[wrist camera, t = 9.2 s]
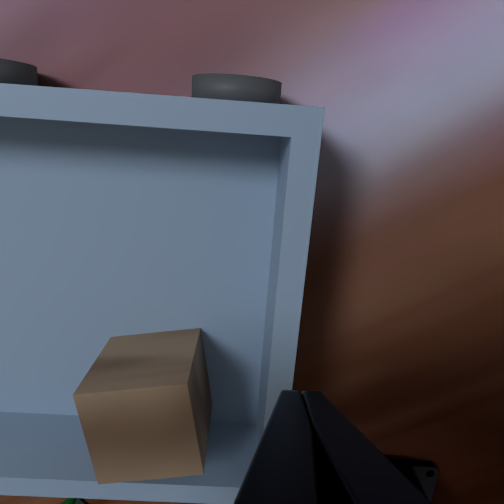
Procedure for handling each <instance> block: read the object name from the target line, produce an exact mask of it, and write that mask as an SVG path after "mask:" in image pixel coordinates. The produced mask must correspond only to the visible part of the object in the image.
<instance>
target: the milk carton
mask: <svg viewBox="0 0 504 504" xmlns="http://www.w3.org/2000/svg"><path fill="white" fill-rule="evenodd" d="M61 504H85V503H84V502H83V501H81V500H80V499H79V498H68V499H67V500H66V501H64V502H63V503H61Z"/></svg>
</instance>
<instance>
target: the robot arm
mask: <svg viewBox="0 0 504 504" xmlns="http://www.w3.org/2000/svg"><path fill="white" fill-rule="evenodd" d="M429 470H430V471H429ZM437 477H438V470H437V468H436V466H435V465H434V463H432V462H425V461H404V460H388V459H387V458H386V457H385V456H384V455H383V454H382V453H381V452H380V451H379V450H378V449H377V448H376V447H375V446H374V445H373V444H372V443H371V442H370V441H369V440H368V439H367V438H366V437H365V436H364V435H363V434H362V433H361V432H360V431H359V430H358V429H357V428H356V427H355V426H354V425H353V424H352V423H351V422H350V421H349V420H348V419H347V418H346V417H345V416H344V415H343V414H342V413H341V412H340V411H339V410H338V409H337V408H336V407H335V406H334V405H333V404H332V403H331V402H330V401H329V400H328V399H327V398H326V397H325V396H324V395H323V394H322V393H321V392H318V391H302V392H300V391H298V390H282V391H281V392H280V394H279V397H278V399H277V402H276V404H275V406H274V409H273V411H272V413H271V416H270V418H269V420H268V423H267V425H266V428H265V430H264V432H263V435H262V437H261V439H260V442H259V444H258V446H257V449H256V451H255V454H254V456H253V458H252V461H251V463H250V465H249V468H248V470H247V472H246V475H245V477H244V480H243V482H242V484H241V487H240V489H239V491H238V494H237V496H236V498H235V501H234V504H432V503H431V500H432V496H433V492H434V488H435V485H436V481H437Z"/></svg>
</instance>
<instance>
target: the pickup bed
mask: <svg viewBox="0 0 504 504" xmlns="http://www.w3.org/2000/svg"><path fill="white" fill-rule="evenodd" d="M281 84H282V83H281V82H279V81H276V80H272V79H267V78H261V77H254V76H245V75H234V74H197V75H193V76H192V97H180V96H166V95H153V94H140V93H126V92H113V91H100V90H86V89H73V88H59V87H46V86H38V77H37V67H36V66H33V65H30V64H26V63H22V62H17V61H12V60H6V59H0V495H15V496H39V497H63V498H86V499H110V500H134V501H158V502H181V503H205V504H234V501H235V498H236V496H237V494H238V491H239V489H240V487H241V484H242V482H243V480H244V477H245V475H246V472H247V470H248V468H249V465H250V463H251V461H252V458H253V456H254V454H255V451H256V449H257V446H258V444H259V442H260V439H261V437H262V435H263V432H264V430H265V428H266V425H267V423H268V420H269V418H270V416H271V413H272V411H273V409H274V406H275V404H276V402H277V399H278V397H279V394H280V392H281V391H282V390H292V386H293V377H294V369H295V360H296V351H297V343H298V334H299V326H300V317H301V308H302V300H303V291H304V283H305V274H306V266H307V257H308V248H309V240H310V231H311V223H312V214H313V205H314V197H315V188H316V180H317V171H318V163H319V154H320V145H321V137H322V128H323V120H324V111H325V107H314V106H300V105H287V104H280V96H281ZM194 328H200V329H201V335H202V341H203V347H204V353H205V360H206V366H207V372H208V378H209V384H210V391H211V397H212V403H213V404H212V412H211V420H210V428H209V436H208V444H207V452H206V460H205V468H204V475H195V476H184V477H173V478H163V479H152V480H141V481H130V482H120V483H109V484H98V482H97V479H96V475H95V472H94V468H93V465H92V461H91V458H90V454H89V451H88V447H87V444H86V440H85V437H84V433H83V430H82V426H81V423H80V419H79V416H78V412H77V409H76V405H75V402H74V398H73V394H74V392H75V391H76V389H77V388H78V386H79V384H80V383H81V381H82V380H83V378H84V377H85V375H86V374H87V372H88V371H89V369H90V368H91V366H92V365H93V363H94V362H95V360H96V359H97V357H98V356H99V354H100V353H101V351H102V350H103V348H104V347H105V345H106V343H107V342H108V340H109V339H110V337H115V336H125V335H135V334H145V333H154V332H164V331H174V330H184V329H194Z"/></svg>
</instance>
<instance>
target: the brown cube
mask: <svg viewBox="0 0 504 504" xmlns="http://www.w3.org/2000/svg"><path fill="white" fill-rule="evenodd" d="M73 398H74V402H75V405H76V409H77V412H78V416H79V419H80V423H81V426H82V430H83V433H84V437H85V440H86V444H87V447H88V451H89V454H90V458H91V461H92V465H93V468H94V472H95V475H96V479H97V482H98V484H109V483H120V482H130V481H141V480H152V479H163V478H173V477H184V476H195V475H204V468H205V460H206V452H207V444H208V436H209V428H210V420H211V412H212V404H213V403H212V397H211V391H210V384H209V378H208V372H207V366H206V360H205V353H204V347H203V341H202V335H201V329H200V328H194V329H184V330H174V331H164V332H154V333H145V334H135V335H125V336H115V337H110V339H109V340H108V342H107V343H106V345H105V347H104V348H103V350H102V351H101V353H100V354H99V356H98V357H97V359H96V360H95V362H94V363H93V365H92V366H91V368H90V369H89V371H88V372H87V374H86V375H85V377H84V378H83V380H82V381H81V383H80V384H79V386H78V388H77V389H76V391H75V392H74V394H73Z"/></svg>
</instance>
